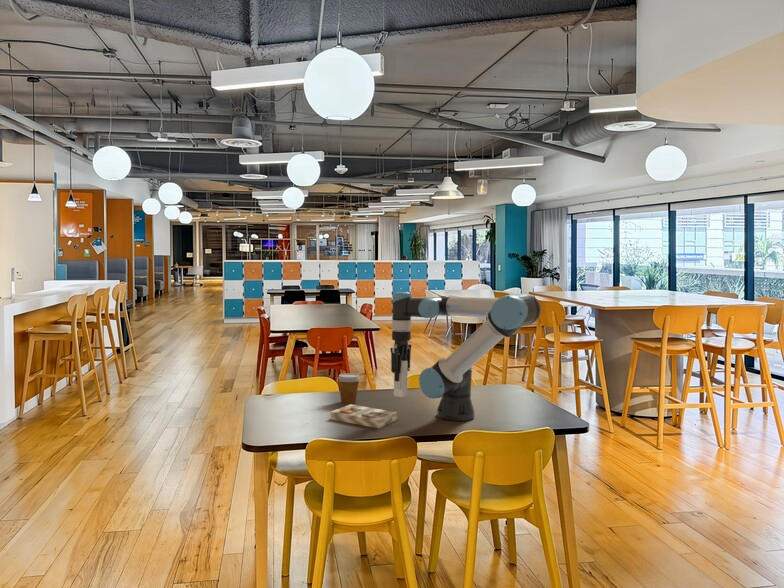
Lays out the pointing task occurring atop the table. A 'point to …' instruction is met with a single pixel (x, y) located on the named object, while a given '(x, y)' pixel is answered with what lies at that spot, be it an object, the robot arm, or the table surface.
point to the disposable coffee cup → (348, 387)
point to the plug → (402, 380)
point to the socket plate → (364, 416)
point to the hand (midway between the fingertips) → (400, 387)
